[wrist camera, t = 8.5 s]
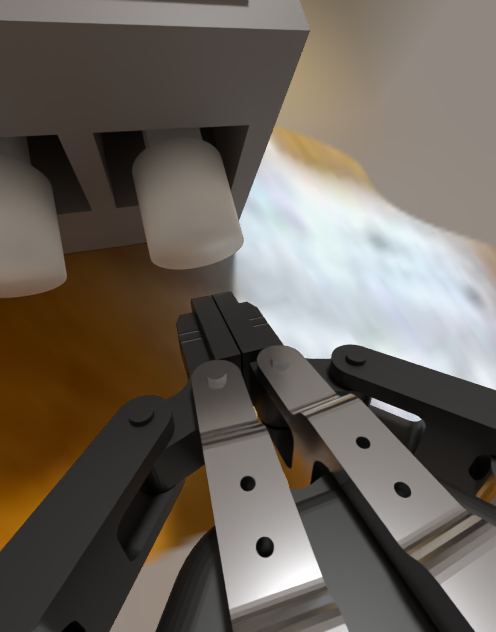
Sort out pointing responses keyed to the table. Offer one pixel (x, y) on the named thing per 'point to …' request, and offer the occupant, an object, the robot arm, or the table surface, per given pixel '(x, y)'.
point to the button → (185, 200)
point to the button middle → (27, 225)
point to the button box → (140, 94)
